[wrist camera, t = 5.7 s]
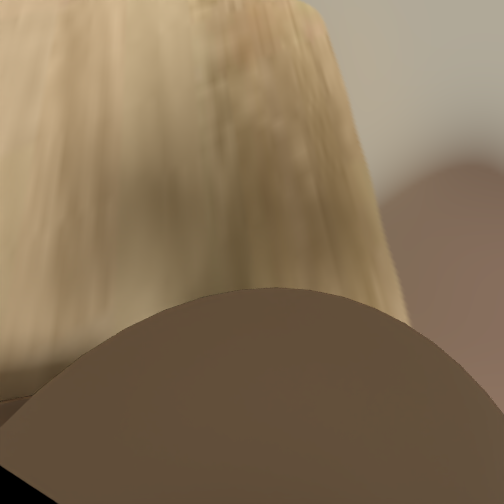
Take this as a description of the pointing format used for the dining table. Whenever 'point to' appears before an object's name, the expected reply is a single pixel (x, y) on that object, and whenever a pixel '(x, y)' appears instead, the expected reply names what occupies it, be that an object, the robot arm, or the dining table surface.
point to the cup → (258, 413)
